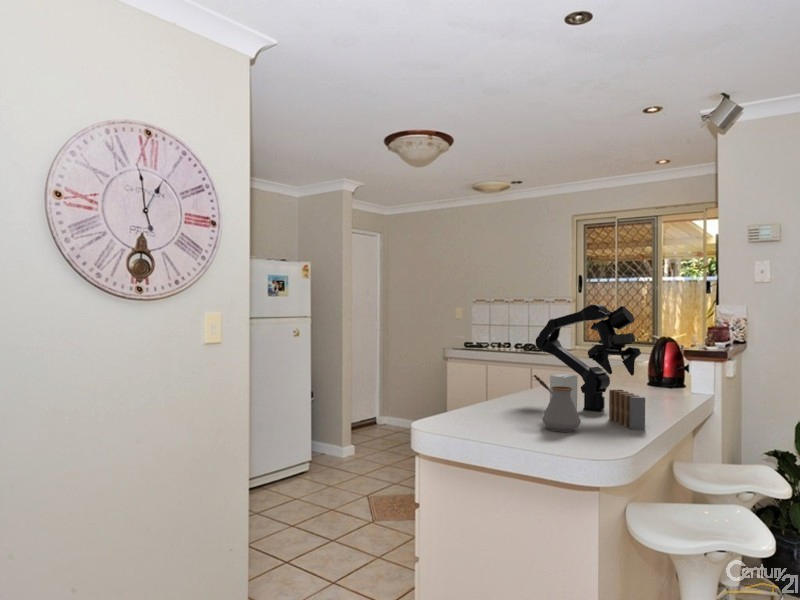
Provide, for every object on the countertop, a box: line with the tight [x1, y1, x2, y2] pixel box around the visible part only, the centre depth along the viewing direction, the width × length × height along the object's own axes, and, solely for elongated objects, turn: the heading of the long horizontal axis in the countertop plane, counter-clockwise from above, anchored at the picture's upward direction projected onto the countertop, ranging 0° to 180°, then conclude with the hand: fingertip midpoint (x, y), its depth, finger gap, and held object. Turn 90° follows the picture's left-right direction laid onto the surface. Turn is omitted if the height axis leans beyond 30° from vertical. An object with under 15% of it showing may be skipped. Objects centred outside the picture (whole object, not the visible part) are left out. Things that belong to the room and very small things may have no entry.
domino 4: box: [623, 394, 641, 428], centre depth 172 cm, size 2×4×10 cm, turn 95°
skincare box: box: [549, 372, 579, 411], centre depth 184 cm, size 8×6×15 cm
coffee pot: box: [531, 374, 582, 433], centre depth 172 cm, size 21×12×15 cm, turn 19°
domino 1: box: [608, 389, 625, 421], centre depth 182 cm, size 2×4×10 cm, turn 95°
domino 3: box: [618, 392, 635, 426], centre depth 176 cm, size 2×4×10 cm, turn 95°
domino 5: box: [628, 396, 646, 431], centre depth 169 cm, size 2×4×10 cm, turn 95°
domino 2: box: [613, 390, 630, 423], centre depth 179 cm, size 2×4×10 cm, turn 95°
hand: (621, 374), depth 186 cm, fingers open, 9 cm apart
